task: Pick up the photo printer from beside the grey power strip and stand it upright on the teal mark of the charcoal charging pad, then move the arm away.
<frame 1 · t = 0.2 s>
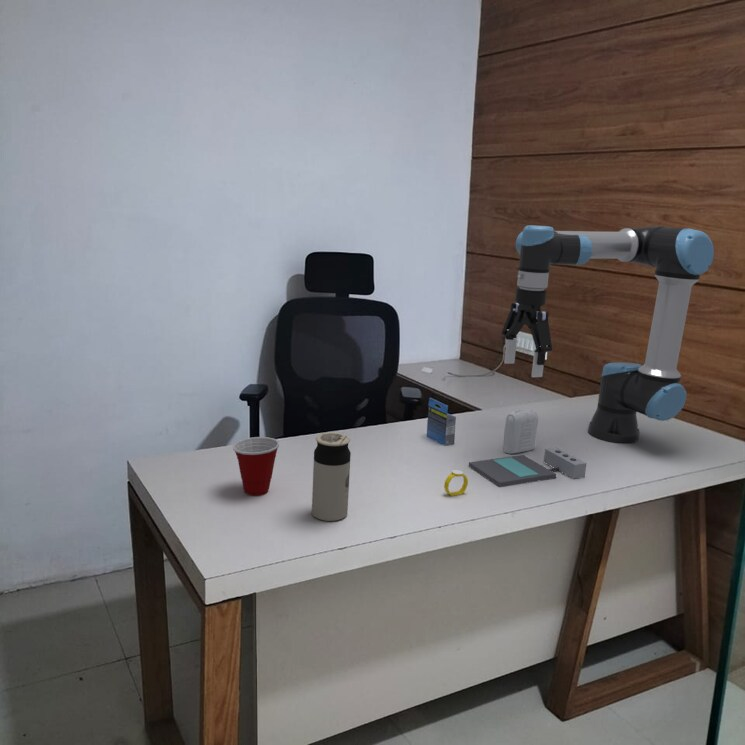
hand: (522, 370, 184), 27 cm above the table, tool pointing down, fingers open, 13 cm apart
label tape box: (439, 441, 209), on the table
watch: (455, 494, 173), on the table
photo printer: (518, 451, 205), on the table
plastic cup: (255, 491, 168), on the table
charging pad: (511, 472, 188), on the table
travel mug: (329, 514, 159), on the table
power strip: (563, 469, 192), on the table
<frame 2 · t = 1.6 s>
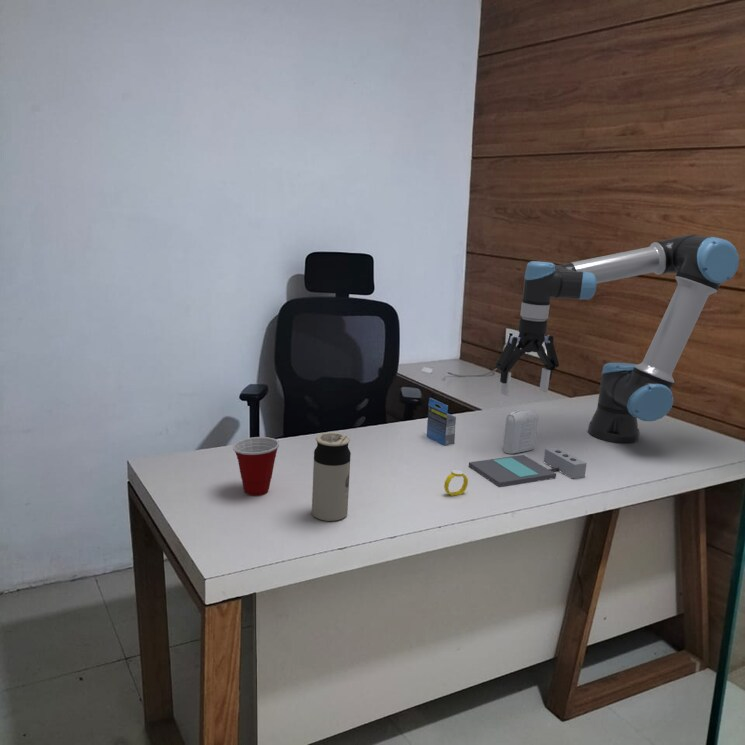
hand: (524, 392, 200), 17 cm above the table, tool pointing down, fingers open, 13 cm apart
nothing on the table moved.
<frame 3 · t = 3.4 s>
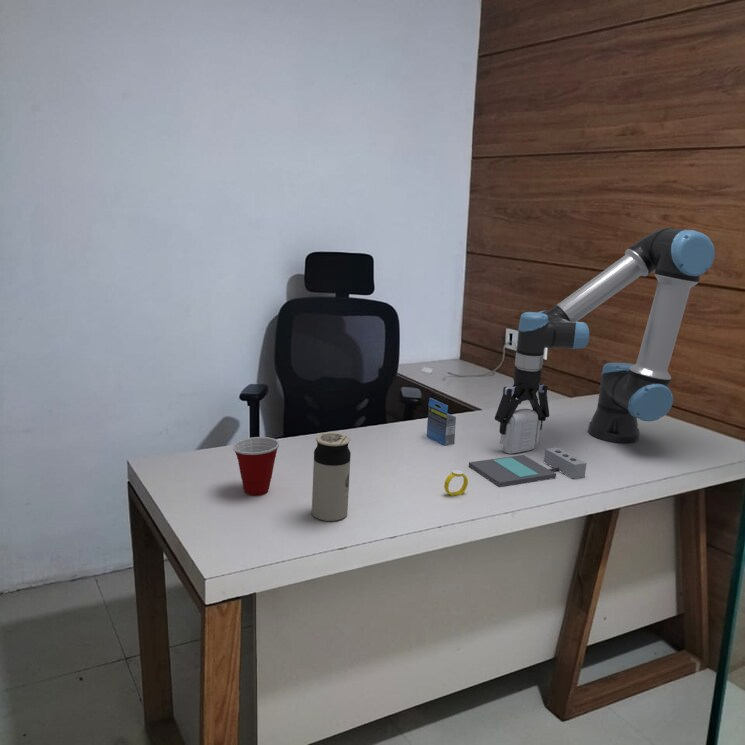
hand: (519, 442, 204), 2 cm above the table, tool pointing down, fingers closed on photo printer, 10 cm apart
photo printer: (518, 450, 205), on the table, touching gripper
everything else where it was.
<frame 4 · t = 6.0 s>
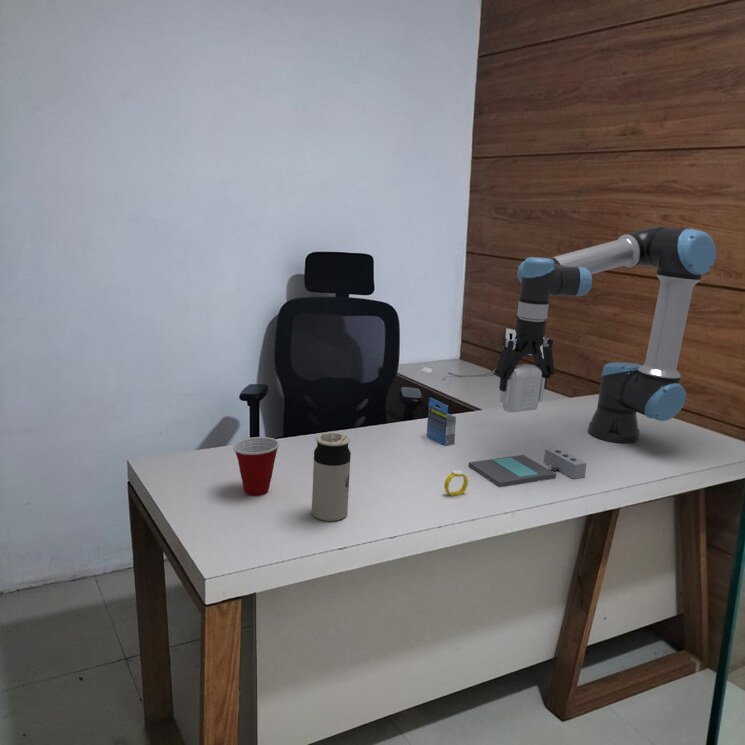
hand: (521, 401, 187), 18 cm above the table, tool pointing down, fingers closed on photo printer, 10 cm apart
photo printer: (519, 410, 188), point 16 cm above the table, touching gripper
everything else where it was.
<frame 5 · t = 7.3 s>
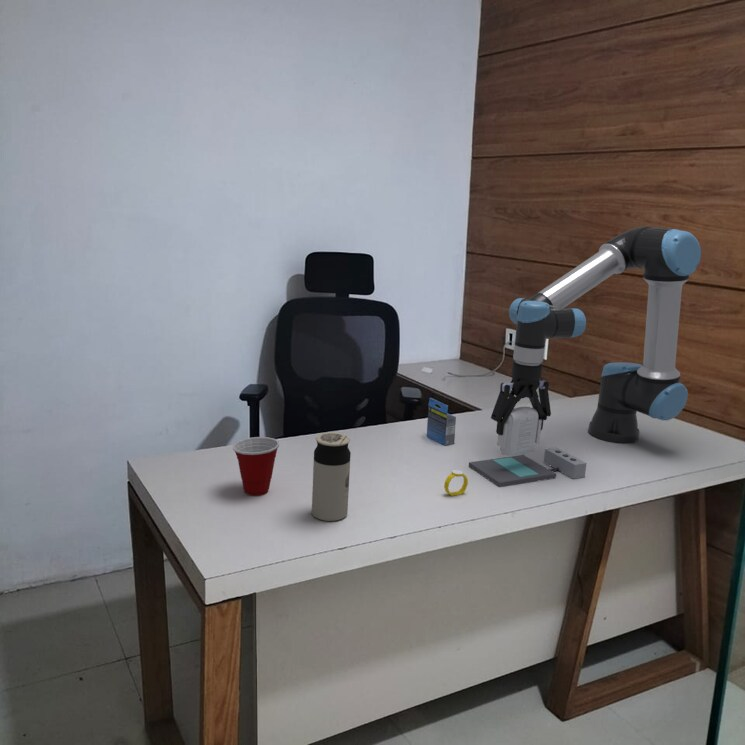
hand: (518, 443, 187), 8 cm above the table, tool pointing down, fingers closed on photo printer, 10 cm apart
photo printer: (516, 452, 187), point 5 cm above the table, touching gripper
everything else where it was.
when the fingers open (5 cm above the table, at t = 8.5 s): photo printer stays where it is, resting on charging pad.
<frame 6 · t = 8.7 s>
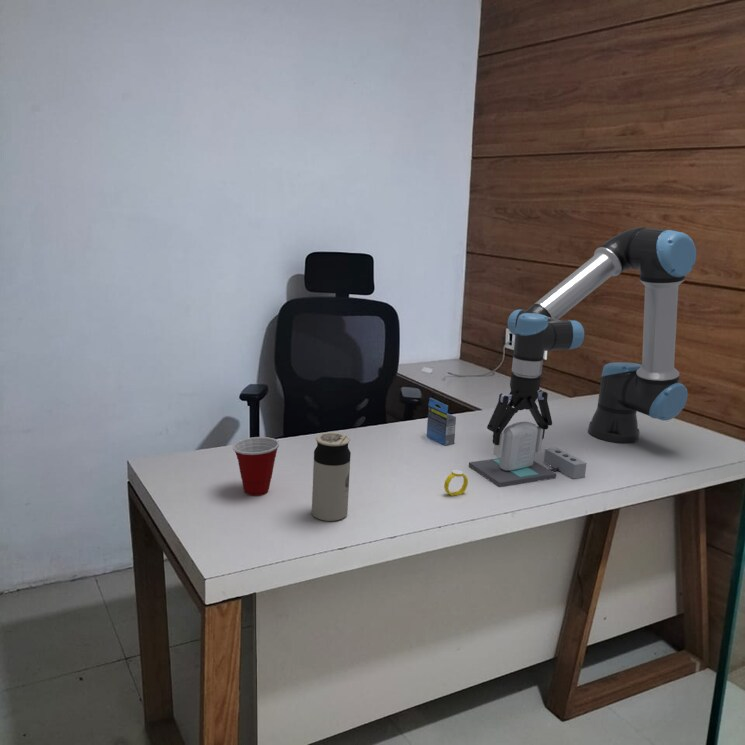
hand: (516, 453, 187), 5 cm above the table, tool pointing down, fingers open, 12 cm apart
photo printer: (515, 467, 189), point 1 cm above the table, touching charging pad
everything else where it was.
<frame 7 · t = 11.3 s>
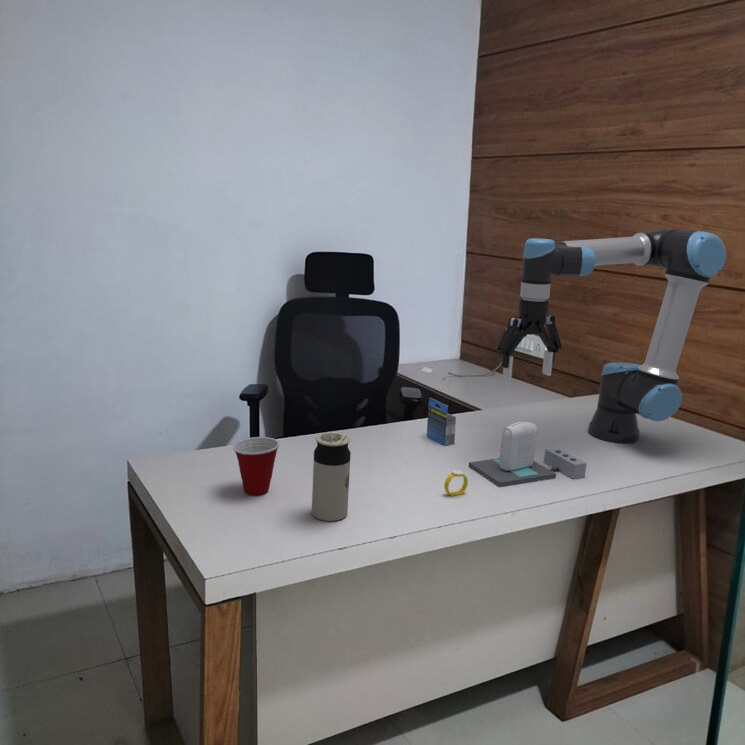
hand: (526, 377, 191), 24 cm above the table, tool pointing down, fingers open, 13 cm apart
nothing on the table moved.
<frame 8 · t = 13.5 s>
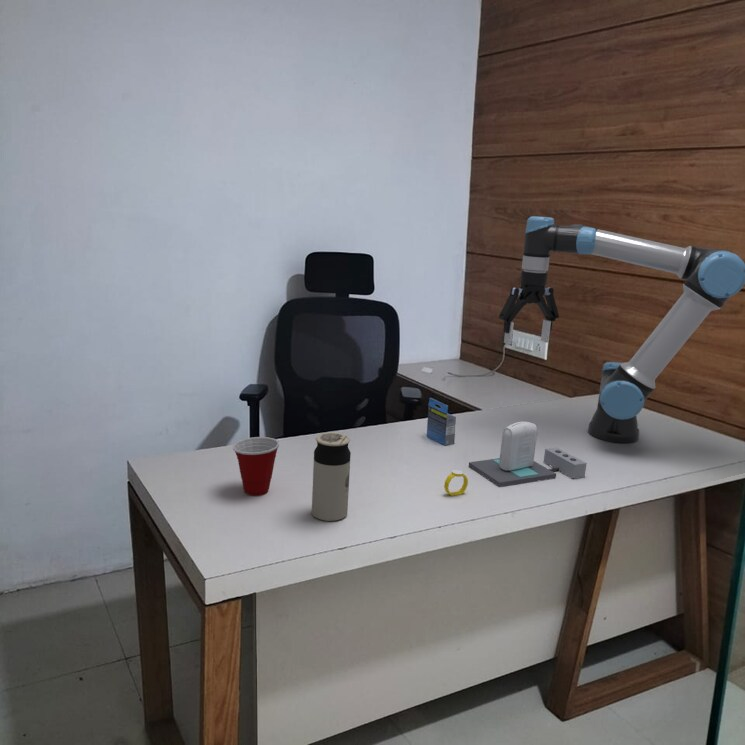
hand: (526, 342, 211), 29 cm above the table, tool pointing down, fingers open, 13 cm apart
nothing on the table moved.
at the end: photo printer inside the target area on the charging pad (0.3 cm from its centre), point 1.2 cm above the charging pad's base; photo printer tilted 0°; the gripper is holding nothing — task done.
